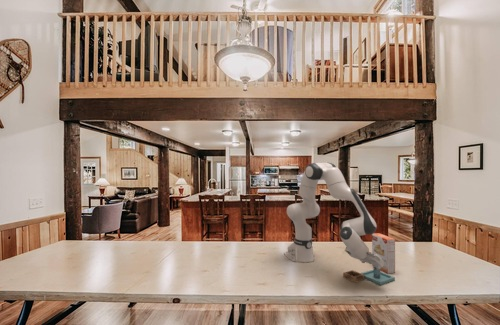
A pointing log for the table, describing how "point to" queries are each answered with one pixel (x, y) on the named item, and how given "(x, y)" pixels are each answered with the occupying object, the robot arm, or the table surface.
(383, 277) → the tray
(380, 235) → the cracker box
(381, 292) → the table surface
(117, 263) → the table surface
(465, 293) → the table surface
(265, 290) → the table surface
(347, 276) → the collar
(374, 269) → the peg
